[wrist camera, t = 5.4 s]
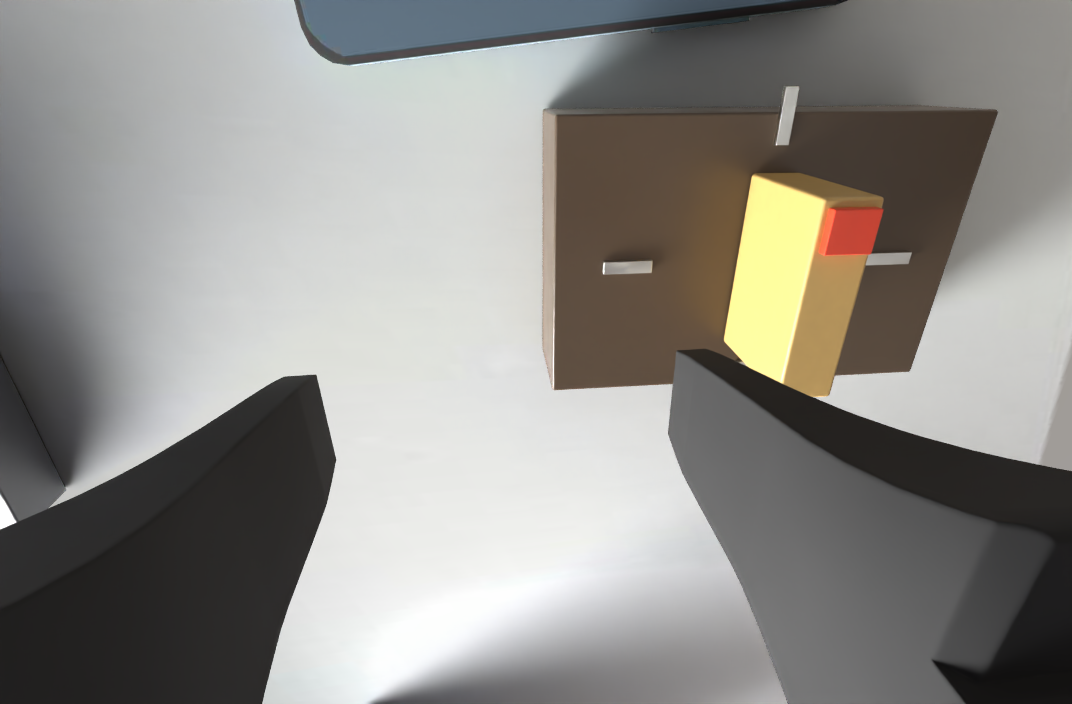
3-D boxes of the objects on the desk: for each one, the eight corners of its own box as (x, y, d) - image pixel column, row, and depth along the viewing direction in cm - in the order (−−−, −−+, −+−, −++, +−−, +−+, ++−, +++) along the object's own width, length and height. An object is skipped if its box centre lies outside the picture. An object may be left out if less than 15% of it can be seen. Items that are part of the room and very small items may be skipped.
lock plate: (542, 363, 20) (552, 410, 17) (542, 86, 16) (556, 87, 13) (851, 349, 21) (908, 390, 18) (925, 83, 17) (1014, 84, 14)
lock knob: (765, 339, 17) (835, 402, 14) (722, 341, 17) (782, 405, 14) (800, 172, 15) (893, 198, 12) (751, 172, 15) (830, 200, 11)
